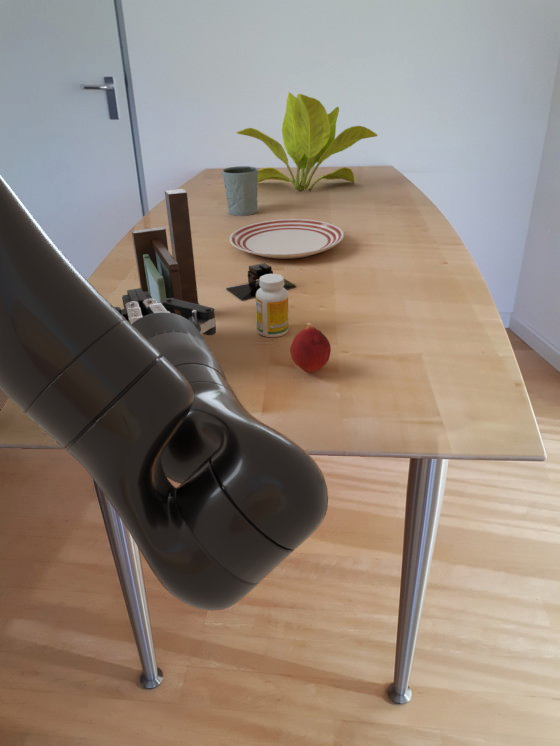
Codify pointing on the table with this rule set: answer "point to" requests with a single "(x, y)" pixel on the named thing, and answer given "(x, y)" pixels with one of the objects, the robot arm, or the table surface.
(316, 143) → the artificial plant
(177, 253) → the end post
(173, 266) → the window frame
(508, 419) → the table surface
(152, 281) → the window sash
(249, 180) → the embossed green cup
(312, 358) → the onion
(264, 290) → the supplement bottle
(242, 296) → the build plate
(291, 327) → the table surface
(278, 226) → the dinner plate
